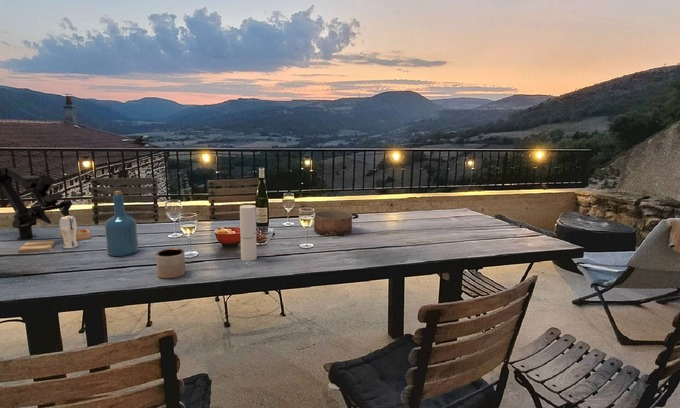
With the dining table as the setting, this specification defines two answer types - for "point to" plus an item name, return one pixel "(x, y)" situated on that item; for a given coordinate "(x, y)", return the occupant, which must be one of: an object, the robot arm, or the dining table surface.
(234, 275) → the dining table surface
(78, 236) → the terracotta dish
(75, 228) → the metal goblet
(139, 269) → the dining table surface
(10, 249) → the dining table surface
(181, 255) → the planter
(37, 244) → the oak board
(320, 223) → the cooking pot
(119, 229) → the wine bottle
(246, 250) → the cylindrical container
